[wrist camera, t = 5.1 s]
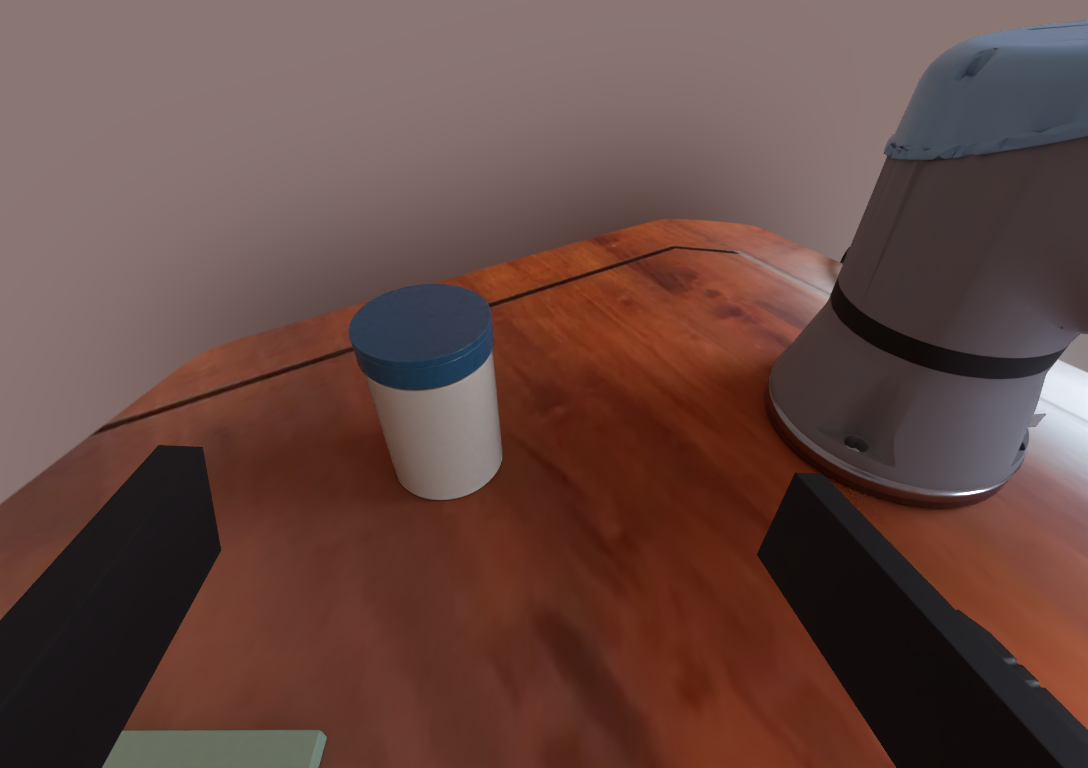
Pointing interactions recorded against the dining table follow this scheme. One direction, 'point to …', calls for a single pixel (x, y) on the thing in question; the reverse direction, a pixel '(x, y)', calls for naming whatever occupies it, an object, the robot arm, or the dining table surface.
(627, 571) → the dining table surface
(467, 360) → the jar lid
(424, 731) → the dining table surface
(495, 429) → the jam jar
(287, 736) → the sticky note pad
